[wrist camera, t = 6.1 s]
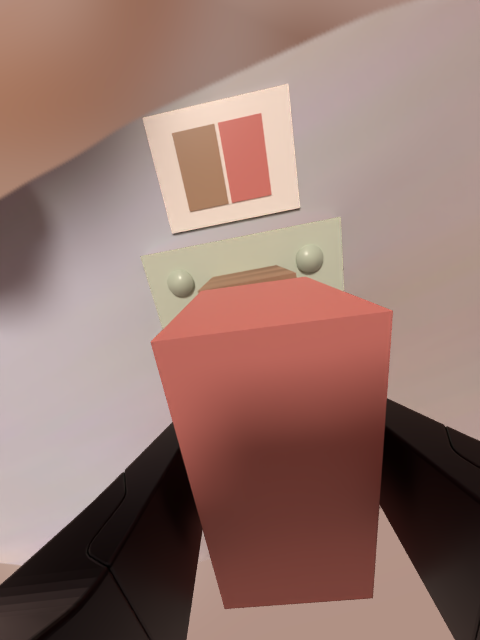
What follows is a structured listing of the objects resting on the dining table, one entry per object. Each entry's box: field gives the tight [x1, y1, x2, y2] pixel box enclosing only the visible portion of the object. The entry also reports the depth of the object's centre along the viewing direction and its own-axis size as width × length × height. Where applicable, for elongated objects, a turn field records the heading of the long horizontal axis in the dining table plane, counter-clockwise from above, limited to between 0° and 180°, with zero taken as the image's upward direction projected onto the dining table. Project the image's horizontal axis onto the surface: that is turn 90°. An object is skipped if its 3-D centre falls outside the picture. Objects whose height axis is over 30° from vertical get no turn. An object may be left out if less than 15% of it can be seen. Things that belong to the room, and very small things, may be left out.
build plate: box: [140, 217, 344, 329], centre depth 15 cm, size 12×12×1 cm
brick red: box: [151, 277, 393, 609], centre depth 7 cm, size 8×4×5 cm, turn 8°
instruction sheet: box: [142, 84, 300, 234], centre depth 13 cm, size 8×6×1 cm
